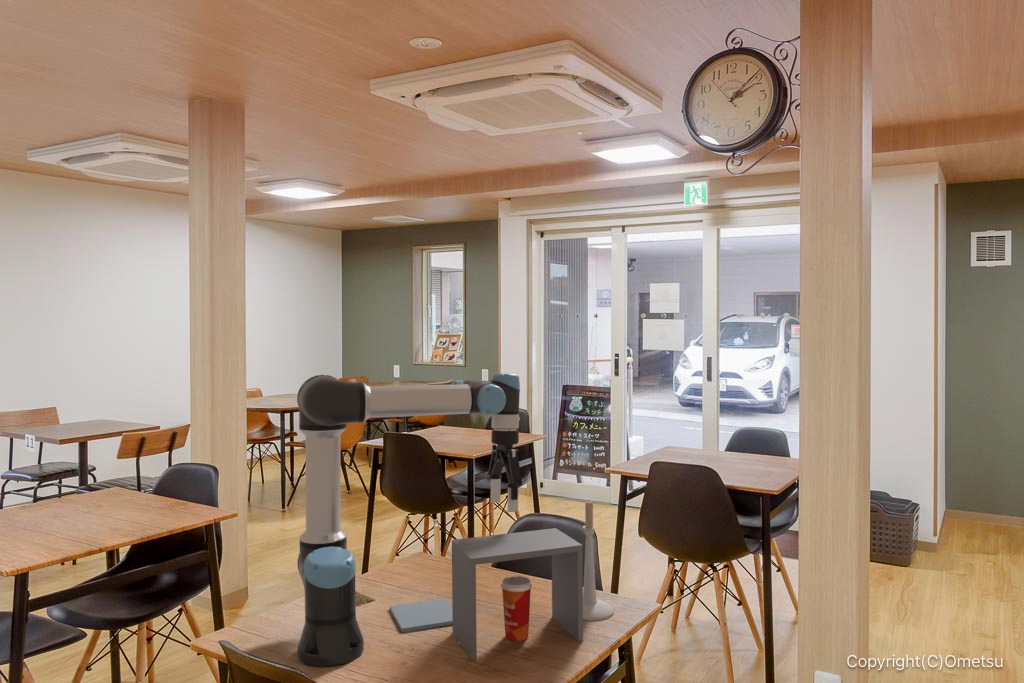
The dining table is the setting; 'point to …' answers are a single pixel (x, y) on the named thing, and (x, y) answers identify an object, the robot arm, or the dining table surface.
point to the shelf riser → (512, 548)
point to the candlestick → (592, 576)
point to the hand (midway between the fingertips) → (503, 507)
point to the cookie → (362, 599)
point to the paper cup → (516, 607)
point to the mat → (422, 614)
